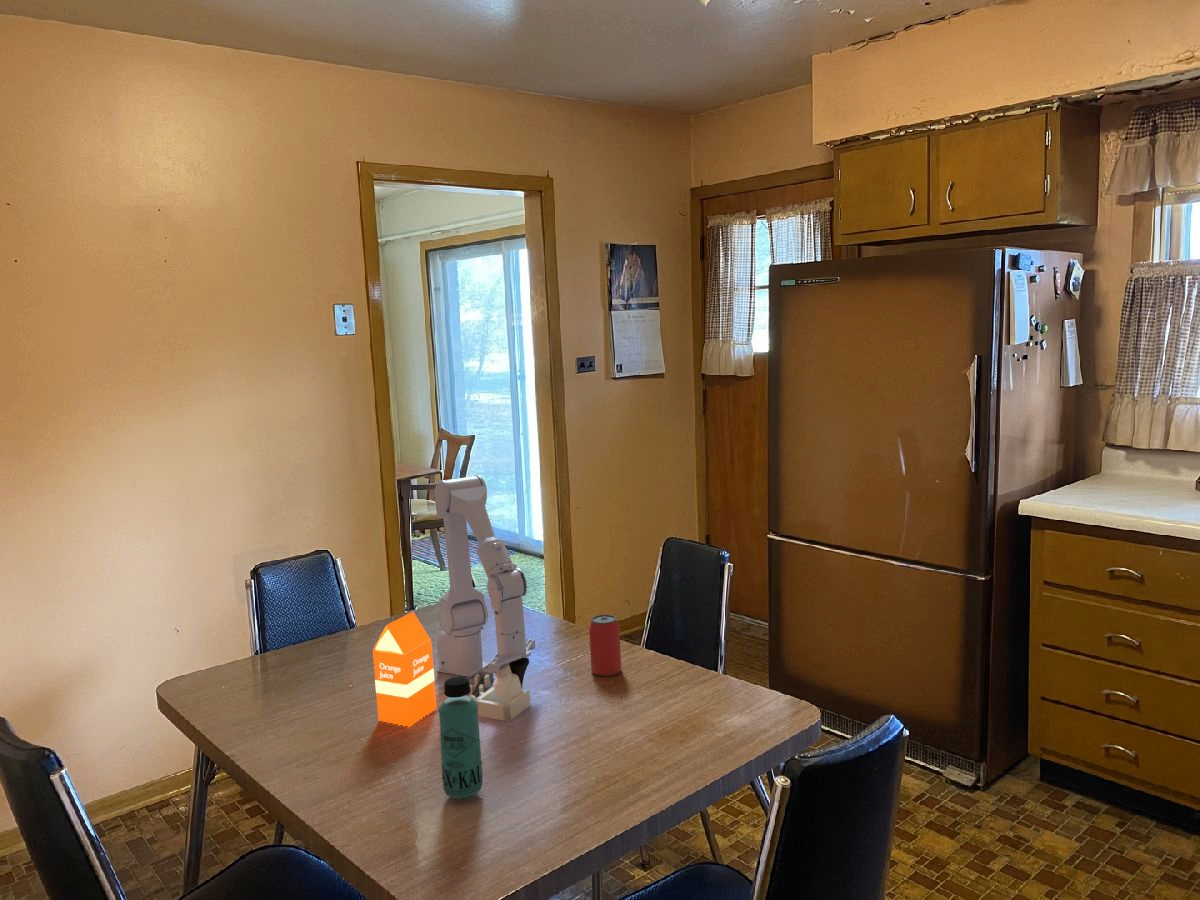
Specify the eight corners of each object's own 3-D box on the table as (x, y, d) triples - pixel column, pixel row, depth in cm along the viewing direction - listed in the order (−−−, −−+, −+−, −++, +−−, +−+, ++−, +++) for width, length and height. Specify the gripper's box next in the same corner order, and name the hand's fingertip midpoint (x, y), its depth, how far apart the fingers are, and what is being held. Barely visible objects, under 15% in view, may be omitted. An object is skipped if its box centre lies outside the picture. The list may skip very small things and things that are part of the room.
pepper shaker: (510, 694, 178) (498, 657, 174) (526, 698, 176) (514, 660, 172) (499, 708, 175) (487, 670, 171) (515, 711, 173) (503, 674, 169)
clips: (465, 709, 175) (464, 699, 174) (471, 684, 187) (470, 674, 187) (487, 708, 175) (486, 697, 175) (491, 682, 188) (490, 672, 187)
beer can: (622, 665, 194) (620, 613, 192) (620, 677, 187) (617, 623, 186) (592, 665, 194) (590, 613, 193) (589, 677, 188) (587, 623, 186)
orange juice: (437, 708, 176) (430, 613, 173) (410, 727, 168) (402, 627, 165) (405, 703, 179) (398, 609, 176) (377, 721, 171) (369, 623, 168)
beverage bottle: (445, 788, 145) (436, 673, 142) (485, 785, 145) (478, 670, 142) (441, 809, 138) (432, 689, 135) (484, 806, 139) (475, 686, 136)
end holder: (474, 714, 172) (473, 700, 172) (497, 698, 179) (496, 685, 179) (508, 721, 168) (507, 706, 168) (530, 705, 175) (529, 690, 175)
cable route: (469, 709, 174) (468, 698, 174) (479, 678, 190) (479, 668, 190) (484, 709, 174) (483, 697, 174) (493, 678, 190) (493, 667, 190)
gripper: (507, 644, 167) (513, 711, 169) (545, 620, 180) (550, 683, 181) (477, 640, 170) (482, 707, 172) (516, 617, 183) (521, 679, 185)
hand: (515, 694), depth 177 cm, fingers closed, pressing on pepper shaker
